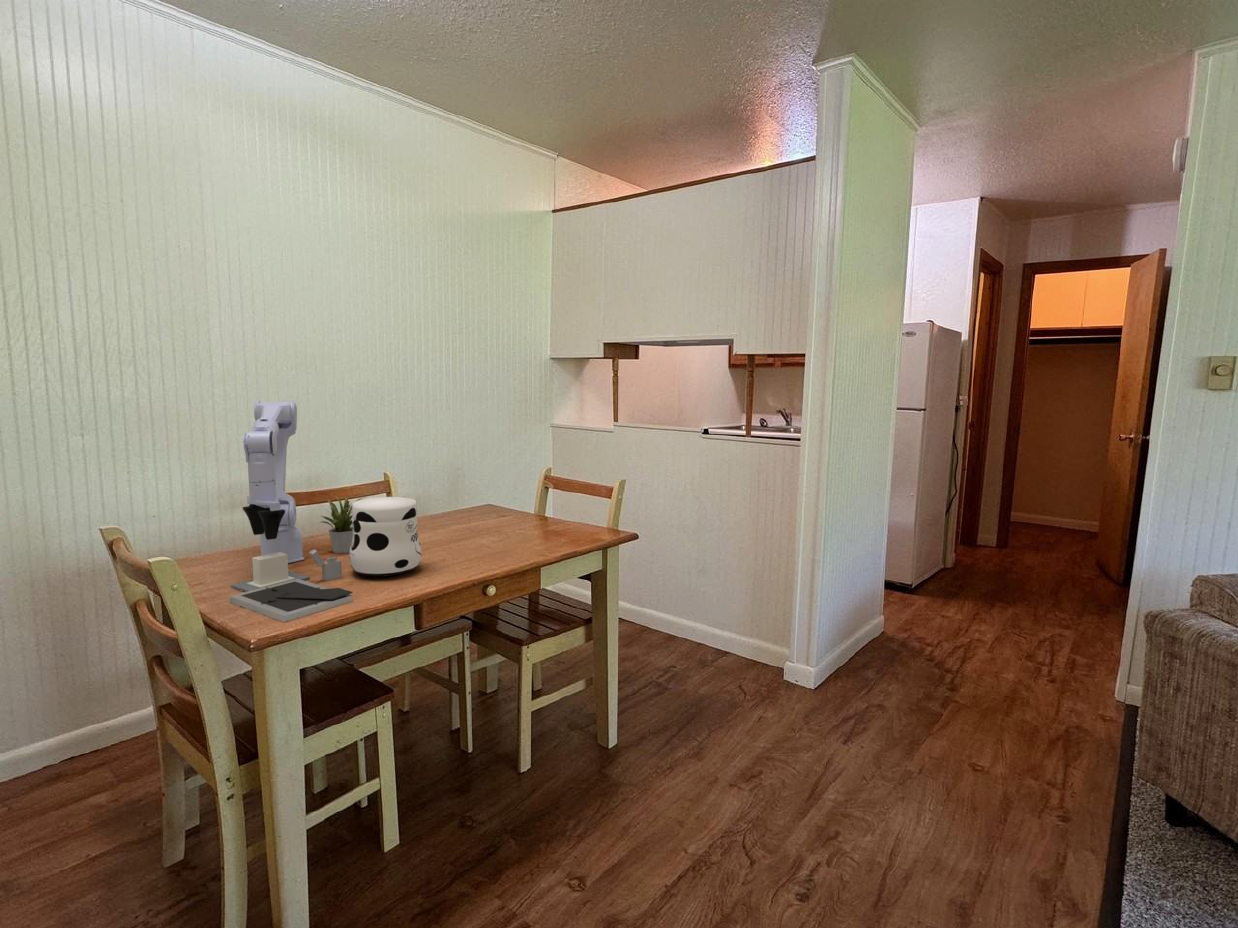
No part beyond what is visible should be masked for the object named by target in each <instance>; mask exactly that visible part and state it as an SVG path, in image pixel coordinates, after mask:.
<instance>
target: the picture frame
mask: <svg viewBox="0 0 1238 928" xmlns="http://www.w3.org/2000/svg"><path fill="white" fill-rule="evenodd" d="M228 596H229V598H228V599H229V603H230V604H232V603H233V605H235V604H236V605H235V606H238V605H239V606H238V607H240V606H242V607H241V608H243V607H245V608H244V609H246V608H248V609H247V610H249V609H250V610H249V611H251V610H253V611H252V612H254V611H256V612H255V613H257V612H258V613H257V614H260V615H262V614H263V616H265V615H266V617H268V618H272V619H273V618H274V620H276V619H278V620H277V621H279V620H281V621H280V622H282V621H283V622H282V623H284V622H285V623H288V622H291V621H293V619H294V620H298V619H301V618H304V617H307V616H310V615H313V614H316V613H320V612H322V611H323V612H324V611H326V610H328V609H332V608H335V607H338V606H342V605H345V604H348V603H352V602H353V601H354V598H353V597H354V596H353V591H351V590H346V589H343V588H340V587H333V588H330V587H326V586H323V585H320V584H317V583H313V582H310V581H308V580H306V581H304V580H300V579H295V580H291V581H287V582H283V583H279V584H275V585H271V586H267V587H263V588H259V589H256V590H252V591H248V592H240V593H237V594H232V595H228ZM290 620H291V621H290ZM287 621H288V622H287Z"/></svg>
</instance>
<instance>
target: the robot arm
mask: <svg viewBox="0 0 1238 928" xmlns="http://www.w3.org/2000/svg"><path fill="white" fill-rule="evenodd" d="M297 407H298V406H297V404H296V402H294V400H291V401H261V400H257V401H256V402H254V406H253V415H254V420H255V422H254V423H253V425H252V427H251V430H249V431H248V432H247V433H244V434H243V439H242V440H243V449H244V454H245V455H244V456H245V461H246V462H245V463H247V473H248V475H247V476H248V477H247V479H248V494H249V495H247V499H246V500H247V506H243V507H242V510H243V511H244V514H246V517H247V518H248V520H249V521H248V522H249V524H250V527H251V531H252V533H253V536H258V535H259V538H260V539H259V540H260V556H263V555H268V554H273V553H278V552H281V553H284V554H287V557H288V564H290V563H296V562H300V561H303V560H305V557H303V556H304V555H303V552H304V551H303V536H302V535H303V534H302V533H301V530H300V528H299V527H297V526H296V525H297V508H296V507H297V506H296V505H297V504H296V499H294V498H295V497H293V496H292V495H289V494H288V493H287V492H286V475H287V474H286V473H287V472H286V471H287V447H288V442H289V439H290V437H291V436H294V435H296V431H297V426H298V411H297V410H298V408H297Z"/></svg>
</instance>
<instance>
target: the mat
mask: <svg viewBox="0 0 1238 928" xmlns="http://www.w3.org/2000/svg"><path fill="white" fill-rule="evenodd" d="M288 577H289V579H285V580H281V581H277V582H273V583H268V584H264V585H259V584H256V583H254V581H253V579H250V580H245V581H242V582H236V583H234V584H231V585H230V588H231V589H233V590H236V591H237V590H238V591H240V590H242V591H241V592H243V591H246V592H248V591H252V590H256V589H259V588H263V587H267V586H271V585H275V584H279V583H283V582H287V581H291V580H295V579H300V580H304V581H309V580H311V577H310V576H308V575H305V574H300V573H297V572H293V571H290V570H288Z"/></svg>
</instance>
